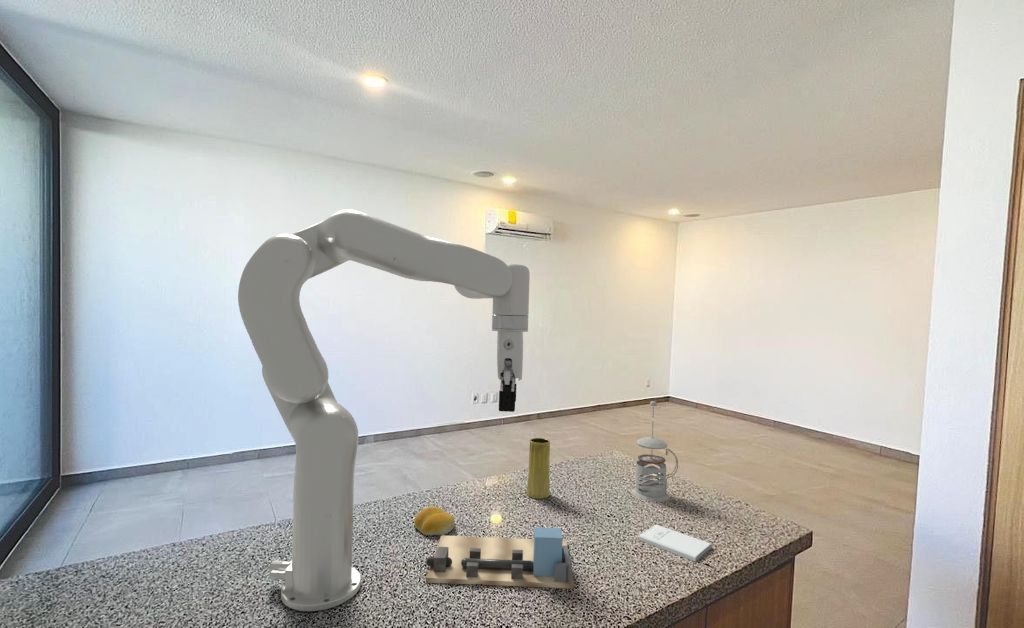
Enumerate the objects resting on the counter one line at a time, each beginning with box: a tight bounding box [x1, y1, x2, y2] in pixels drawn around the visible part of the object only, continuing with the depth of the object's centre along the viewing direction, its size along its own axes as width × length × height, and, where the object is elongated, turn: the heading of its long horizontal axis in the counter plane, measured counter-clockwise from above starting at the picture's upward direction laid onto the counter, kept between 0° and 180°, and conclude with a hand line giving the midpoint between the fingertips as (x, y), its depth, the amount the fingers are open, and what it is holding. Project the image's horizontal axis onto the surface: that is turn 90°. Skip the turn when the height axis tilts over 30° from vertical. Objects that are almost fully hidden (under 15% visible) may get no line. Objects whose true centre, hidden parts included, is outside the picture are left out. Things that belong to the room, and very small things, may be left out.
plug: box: [461, 526, 563, 577], centre depth 89 cm, size 18×4×7 cm, turn 89°
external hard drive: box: [638, 524, 713, 563], centre depth 103 cm, size 2×8×12 cm
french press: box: [631, 400, 679, 503], centre depth 130 cm, size 10×12×25 cm
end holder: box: [554, 545, 572, 582], centre depth 89 cm, size 3×7×3 cm, turn 179°
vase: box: [526, 437, 551, 500], centre depth 127 cm, size 6×6×14 cm
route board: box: [425, 535, 575, 589], centre depth 93 cm, size 27×16×3 cm, turn 89°
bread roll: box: [413, 506, 456, 537], centre depth 107 cm, size 8×9×4 cm
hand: (507, 406), depth 101 cm, fingers open, 9 cm apart
